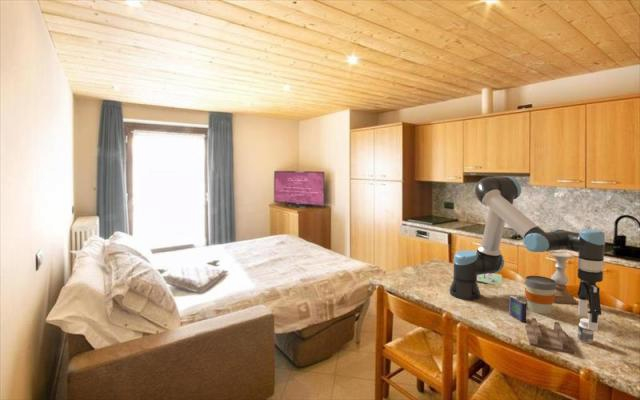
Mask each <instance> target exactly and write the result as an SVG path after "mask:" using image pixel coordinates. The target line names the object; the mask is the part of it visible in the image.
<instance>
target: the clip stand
mask: <svg viewBox="0 0 640 400" xmlns="http://www.w3.org/2000/svg"><path fill="white" fill-rule="evenodd" d="M530 324H531V325H529V324H524V328H525V332H526V335H527V339H528V342H529V345H530V346H531V347H538V348H542V349H548V350H551V351H553V350H554V351H559V352H563V353H569V354H573V355H575V354H576V351H575V350H576V349H575V348H574V346H573V344H572V342H571V340H570V338H569V336H568V335H567V332H566V331H564V330H563V327H562V326H561V324H560V322H559V321H554V323H553V328H548V327H541V326H539V324H538V321H537V318H534V317H531V323H530Z"/></svg>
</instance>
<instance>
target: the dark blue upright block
mask: <svg viewBox="0 0 640 400" xmlns="http://www.w3.org/2000/svg"><path fill="white" fill-rule="evenodd" d="M527 308H528V305H527V301H525V300H523V299H522V298H521V295H516V296H514V295H510V296H509V311H508V315H509V316H511V317H513V318H514V319H515V320H517V321H519V322H520V323H522V324H526V323H527Z"/></svg>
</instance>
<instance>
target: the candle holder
mask: <svg viewBox="0 0 640 400" xmlns="http://www.w3.org/2000/svg"><path fill="white" fill-rule="evenodd" d="M548 255H549V256H551V257H554V259H555V261H556V263H555V264H554V268H555V272H553V274H552V275H551V276H550V279H553V280H554V281H556V289H555V298H554V302H553V304H569V303H570V304H571V305H573V304H574V305H576V304H577V300H576V299H575V298H574V295H572V294H571V293H569V291H567V290H566V289H567V288H568V286H567V284H568V283H569V277H568V275H567V274H566V273H565V270H566V269H567V268H568V267H567V265H566V262H567V261H568V259H569V260H570V259H573V258H574V257H575V255H573V254H571V253H567V252H563V251H549V252H548Z"/></svg>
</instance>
